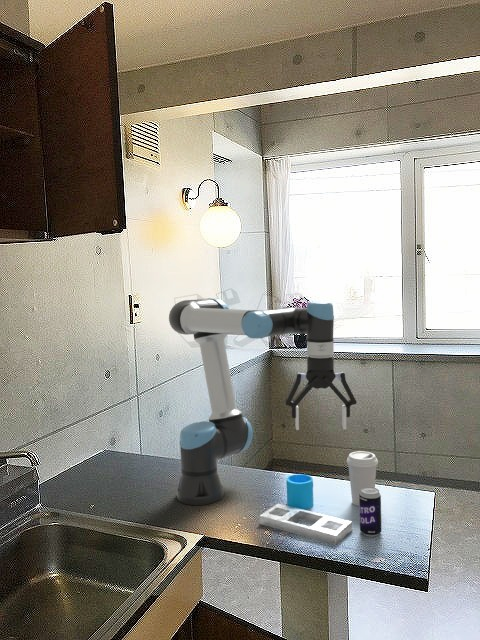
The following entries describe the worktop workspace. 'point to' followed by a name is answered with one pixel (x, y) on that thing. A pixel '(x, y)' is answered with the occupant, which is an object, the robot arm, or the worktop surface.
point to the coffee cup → (361, 472)
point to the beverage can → (370, 511)
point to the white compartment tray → (321, 530)
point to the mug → (300, 491)
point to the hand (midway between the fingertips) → (320, 428)
